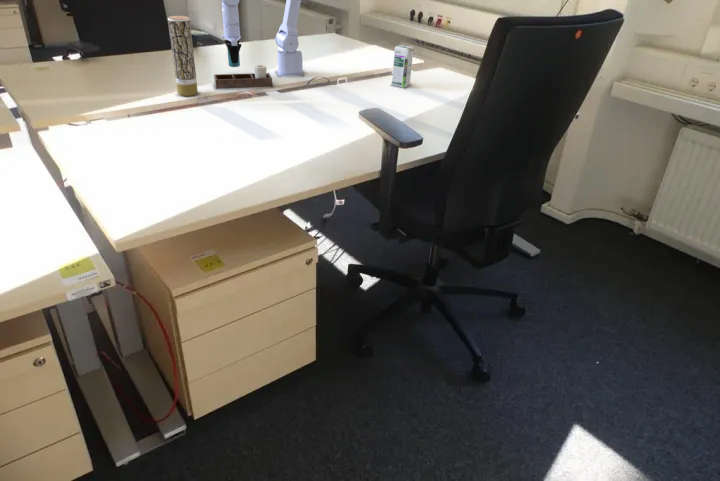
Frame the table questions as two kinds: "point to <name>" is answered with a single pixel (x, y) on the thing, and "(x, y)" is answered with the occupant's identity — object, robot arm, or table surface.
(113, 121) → the table surface
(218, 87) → the rack
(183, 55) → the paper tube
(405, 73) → the syrup box
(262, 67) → the roll
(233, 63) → the paper roll
